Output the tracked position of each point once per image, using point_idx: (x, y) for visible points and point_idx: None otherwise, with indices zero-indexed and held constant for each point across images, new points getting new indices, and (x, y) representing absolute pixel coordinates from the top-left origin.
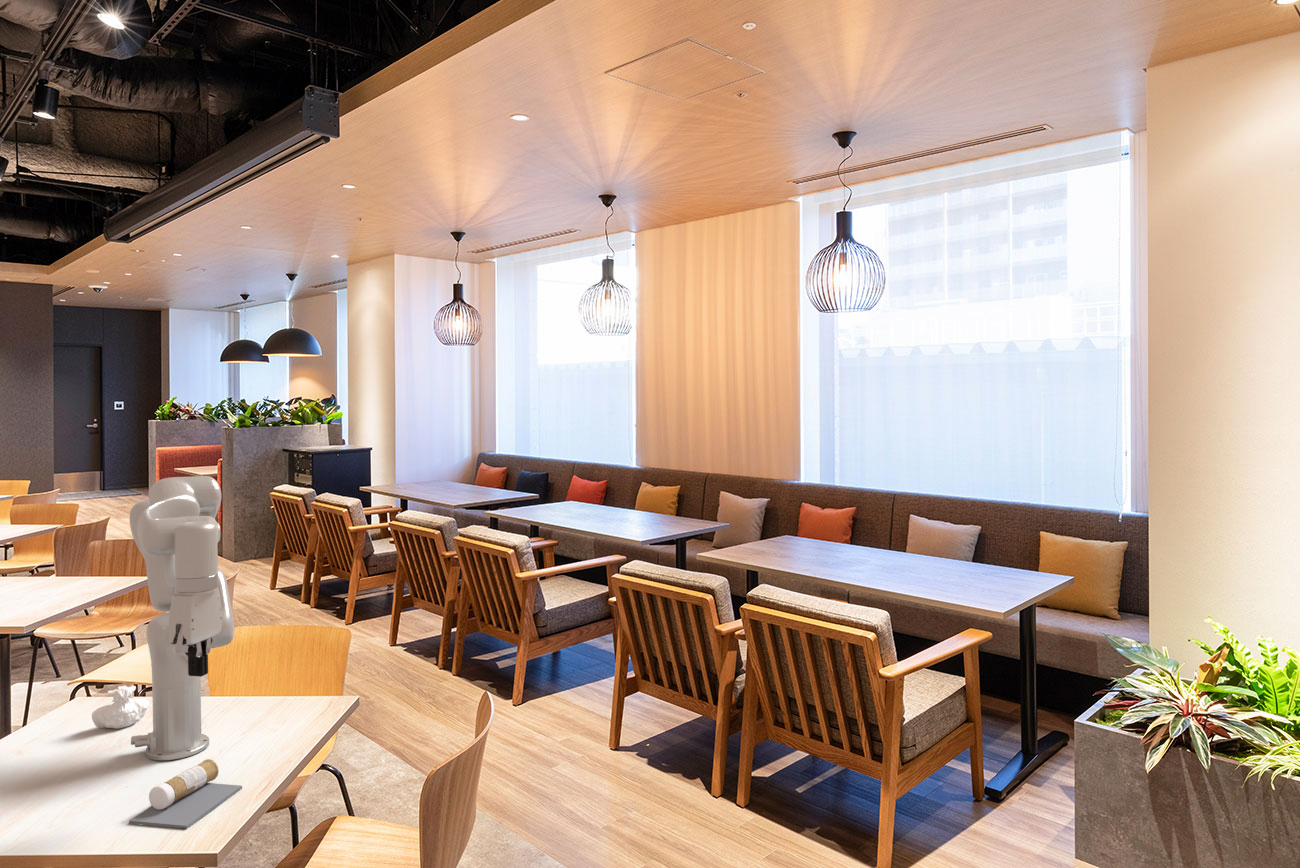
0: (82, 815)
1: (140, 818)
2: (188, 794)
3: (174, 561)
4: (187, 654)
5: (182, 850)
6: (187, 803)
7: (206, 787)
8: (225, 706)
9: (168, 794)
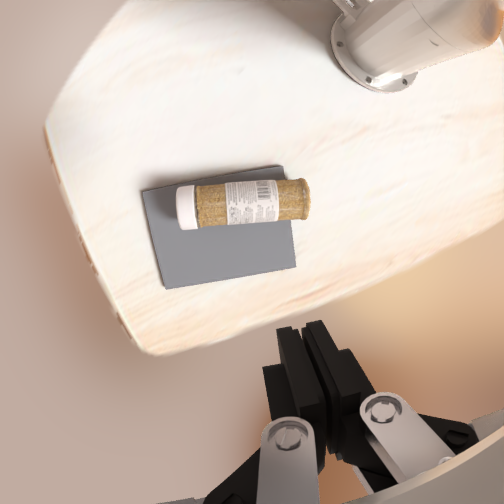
0: (140, 96)
1: (153, 202)
2: None
3: None
4: (246, 467)
5: (130, 323)
6: (217, 232)
7: None
8: None
9: (184, 229)
